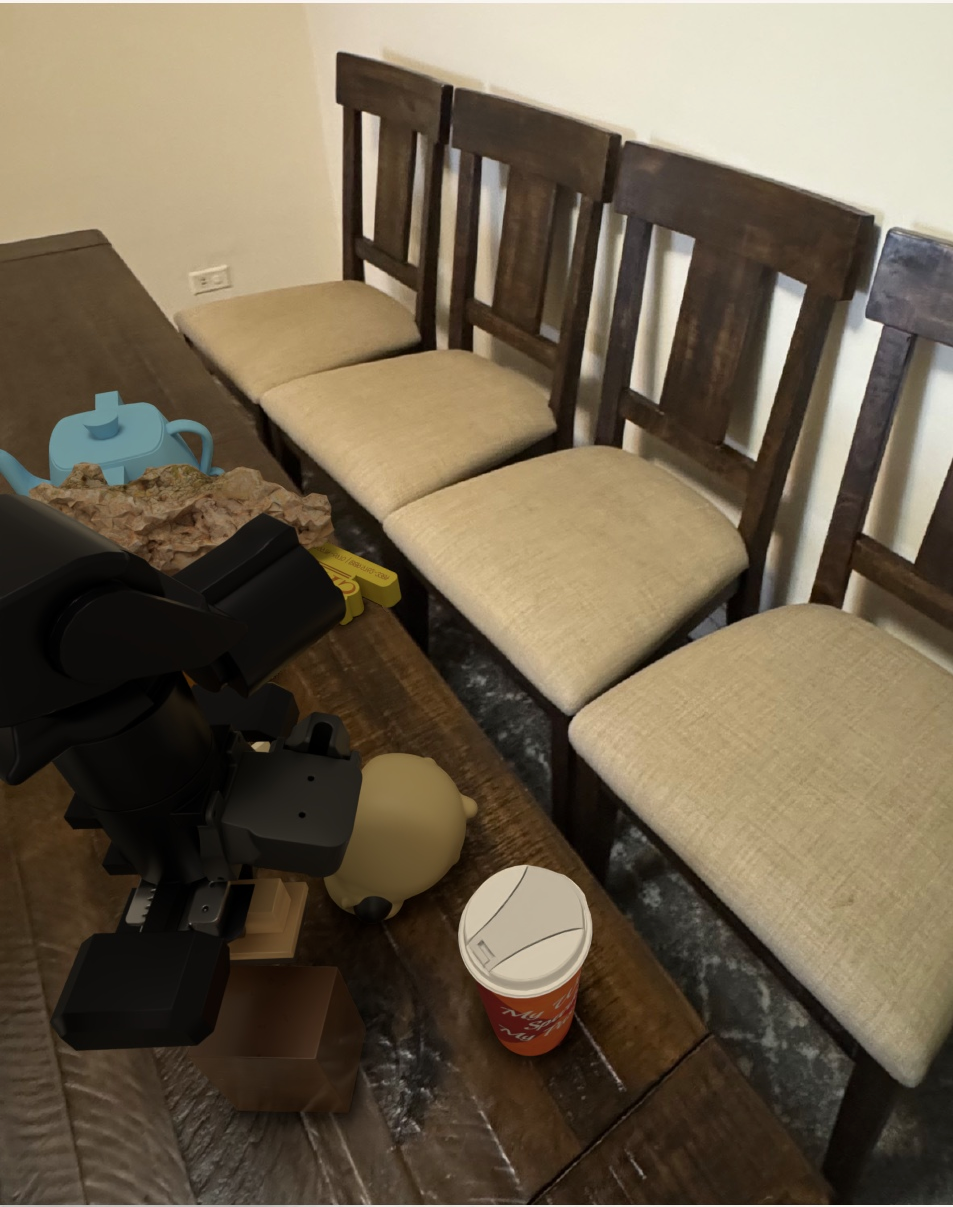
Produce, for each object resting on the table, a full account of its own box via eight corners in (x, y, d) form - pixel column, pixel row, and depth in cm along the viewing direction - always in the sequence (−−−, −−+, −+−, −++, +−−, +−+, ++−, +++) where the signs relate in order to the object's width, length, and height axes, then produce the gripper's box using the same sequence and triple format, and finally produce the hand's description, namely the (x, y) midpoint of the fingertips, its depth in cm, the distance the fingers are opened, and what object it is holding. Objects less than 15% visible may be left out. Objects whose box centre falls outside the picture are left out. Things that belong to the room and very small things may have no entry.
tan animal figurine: (374, 849, 69) (261, 863, 60) (440, 729, 67) (334, 726, 58) (442, 933, 64) (329, 962, 55) (517, 806, 62) (412, 815, 53)
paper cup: (521, 1101, 53) (510, 1019, 43) (453, 1005, 57) (429, 911, 47) (613, 1017, 56) (622, 924, 47) (543, 933, 60) (538, 831, 51)
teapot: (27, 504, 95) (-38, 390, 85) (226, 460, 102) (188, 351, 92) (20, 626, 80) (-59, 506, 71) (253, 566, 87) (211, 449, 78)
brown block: (237, 1110, 52) (186, 1056, 45) (261, 1026, 55) (217, 963, 48) (349, 1113, 52) (315, 1059, 45) (366, 1028, 55) (337, 966, 49)
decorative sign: (261, 530, 92) (148, 610, 83) (254, 509, 90) (137, 589, 81) (404, 596, 86) (298, 692, 76) (400, 575, 83) (290, 671, 74)
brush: (186, 969, 47) (159, 935, 44) (208, 899, 50) (184, 862, 47) (297, 965, 47) (278, 931, 44) (312, 895, 50) (295, 859, 47)
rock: (341, 549, 89) (297, 410, 84) (351, 565, 82) (304, 416, 77) (82, 623, 81) (15, 475, 75) (70, 649, 74) (-5, 487, 69)
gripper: (281, 961, 30) (358, 1091, 41) (362, 604, 44) (404, 774, 54) (-37, 973, 30) (127, 1102, 40) (144, 607, 43) (231, 778, 54)
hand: (241, 915), depth 47 cm, fingers closed on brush, 2 cm apart
